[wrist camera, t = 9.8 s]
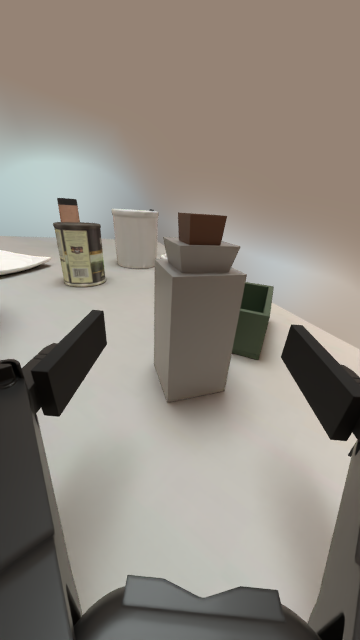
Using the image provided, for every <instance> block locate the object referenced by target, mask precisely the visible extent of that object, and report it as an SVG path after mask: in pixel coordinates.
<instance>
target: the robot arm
mask: <svg viewBox="0 0 360 640" xmlns="http://www.w3.org/2000/svg"><path fill="white" fill-rule="evenodd" d="M106 345H107V341H106V331H105V322H104V313H103V311H99V310H92V311H91V312H90V313H89V314H88V315H87V316H86V317H85V318H84V319H83V320H82V321H81V322H80V323H79V324H78V325H77V326H76V327H75V328H74V329H73V330H72V331H71V332H70V333H69V334H68V335H66V336H65V337H64V338H63V339H62V340H61V341H60V342H59V343H58V344H56V343H53V344H51V345H49V346H47V347H45V348H44V349H43V350H41V351H40V352H39V353H38V355H36V356H35V357H34V358H33V359H32V360H30V361H29V362H28V363H27V364H26V365H25V366H24V367H23V368H22V369H21V366H20V363H19V362H18V361H17V360H14V359H7V360H1V361H0V640H360V377H359V376H358V375H357V374H356V373H355V372H354V371H352V370H351V369H349V368H347V367H346V366H344V365H340V364H339V363H338V362H337V361H336V360H335V359H334V358H333V357H332V356H331V355H330V354H329V353H328V352H327V350H326V349H325V348H324V347H323V346H322V345H321V344H320V343H319V342H318V341H317V340H316V339H315V338H314V337H313V336H312V335H311V334H310V333H309V332H308V331H307V330H306V329H305V328H304V327H303V326H302V325H291V327H290V330H289V333H288V336H287V340H286V343H285V346H284V349H283V352H282V356H281V358H282V360H283V362H284V363H285V365H286V367H287V368H288V370H289V372H290V373H291V375H292V377H293V378H294V380H295V382H296V383H297V385H298V387H299V388H300V390H301V391H302V393H303V395H304V396H305V398H306V400H307V401H308V403H309V405H310V406H311V408H312V410H313V411H314V413H315V415H316V416H317V418H318V420H319V421H320V423H321V425H322V426H323V428H324V430H325V431H326V433H327V435H328V436H329V438H330V440H341V441H347V440H348V438H349V437H350V435H351V433H352V432H353V434H354V435H355V437H356V438H357V439H358V440H357V441H356V443H355V445H354V446H353V448H352V449H351V451H350V453H349V454H348V456H350V457H351V456H352V457H351V461H350V465H349V470H348V474H347V478H346V482H345V486H344V491H343V495H342V499H341V503H340V508H339V512H338V516H337V520H336V525H335V529H334V533H333V537H332V541H331V546H330V550H329V554H328V558H327V563H326V567H325V571H324V575H323V579H322V584H321V588H320V592H319V596H318V599H317V602H316V604H315V606H314V608H313V611H312V613H311V615H310V618H309V621H308V624H307V623H306V622H305V621H304V620H303V619H301V618H300V617H299V616H298V615H297V614H296V613H294V612H293V611H292V610H290V609H289V608H287V607H286V606H284V605H282V604H281V602H280V598H279V593H278V590H271V589H261V588H251V587H241V586H240V587H237V588H234V589H231V590H228V591H225V592H222V593H219V594H215V595H212V596H209V597H206V598H201V597H198V596H196V595H194V594H192V593H191V592H189V591H187V590H185V589H183V588H181V587H179V586H177V585H175V584H173V583H171V582H169V581H167V580H166V579H162V578H153V577H143V576H133V575H127V581H126V586H125V587H121V588H118V589H116V590H114V591H112V592H110V593H108V594H107V595H105V596H104V597H102V598H101V599H99V600H98V601H97V602H96V603H95V604H94V605H93V606H91V607H90V608H89V609H88V610H87V611H86V613H85V614H84V615H82V611H81V606H80V602H79V598H78V594H77V590H76V586H75V583H74V579H73V575H72V571H71V567H70V563H69V558H68V553H67V549H66V544H65V540H64V535H63V531H62V526H61V522H60V517H59V513H58V508H57V504H56V499H55V495H54V490H53V485H52V481H51V476H50V472H49V467H48V463H47V458H46V454H45V449H44V445H43V440H42V436H41V431H40V426H39V422H38V418H37V415H36V413H37V412H38V410H39V409H40V408H41V407H42V410H43V413H44V415H47V416H60V415H61V413H62V412H63V410H64V409H65V407H66V406H67V404H68V403H69V401H70V400H71V398H72V397H73V395H74V393H75V392H76V390H77V389H78V387H79V386H80V384H81V383H82V381H83V380H84V378H85V377H86V375H87V374H88V372H89V371H90V369H91V367H92V366H93V364H94V363H95V361H96V360H97V358H98V357H99V355H100V354H101V352H102V351H103V349H104V348H105V346H106Z"/></svg>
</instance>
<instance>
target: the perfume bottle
mask: <svg viewBox="0 0 360 640" xmlns="http://www.w3.org/2000/svg"><path fill="white" fill-rule="evenodd" d="M226 218H227V216H220V215H206V214H191V213H178V223H179V224H178V226H179V238H172V237H163V239H164V244H165V249H166V254H167V259H155V301H154V365H155V368H156V371H157V374H158V377H159V380H160V383H161V386H162V389H163V392H164V395H165V398H166V401H167V402H172V401H177V400H182V399H187V398H192V397H197V396H202V395H207V394H212V393H217V392H222V391H224V390H225V385H226V379H227V374H228V369H229V364H230V359H231V354H232V348H233V343H234V338H235V333H236V328H237V323H238V318H239V312H240V307H241V302H242V297H243V292H244V287H245V281H246V276H247V275H246V274H244V273H242V272H240V271H238V270H236V269H234V268H232V267H231V266H232V264H233V262H234V260H235V258H236V255H237V253H238V251H239V249H240V246H237V245H233V244H230V243H227V242H223V241H221V240H222V236H223V232H224V227H225V223H226Z"/></svg>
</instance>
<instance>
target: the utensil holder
mask: <svg viewBox="0 0 360 640" xmlns="http://www.w3.org/2000/svg"><path fill="white" fill-rule="evenodd" d="M112 214H113V221H114V232H115V244H116V254H117V262H118V265H120V266H122V267H126V268H135V269H141V268H151V267H154V266H155V259H156V256H157V218H158V212H155V211H144V210H127V209H112Z"/></svg>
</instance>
